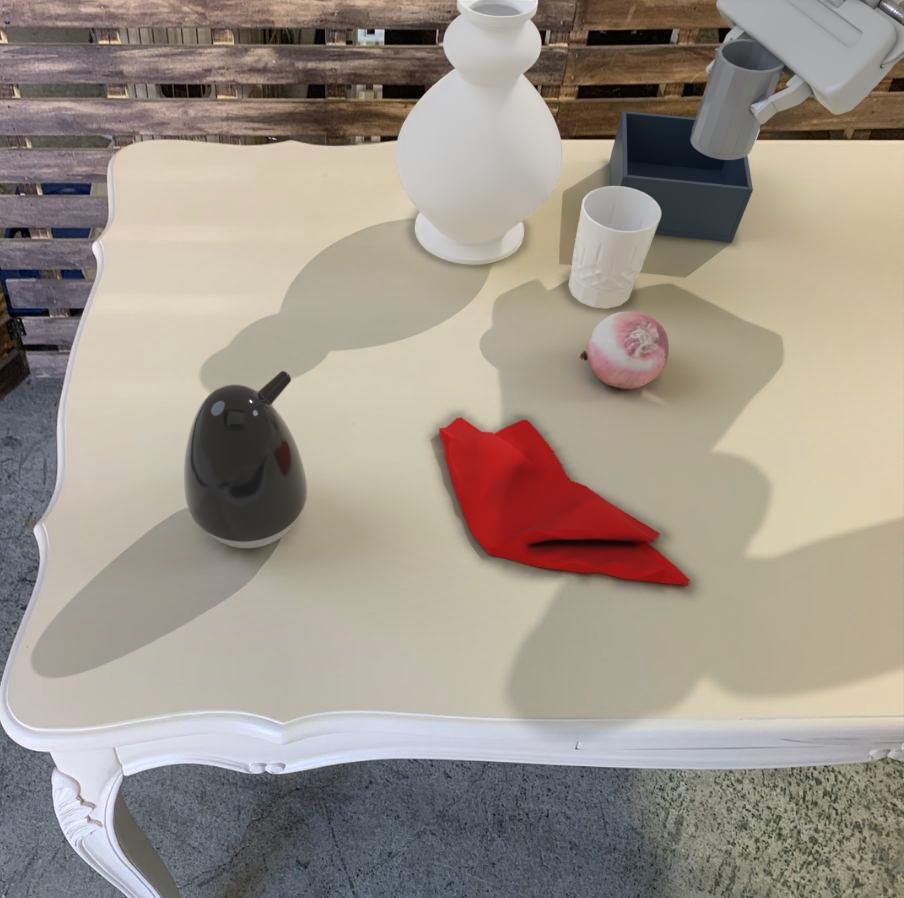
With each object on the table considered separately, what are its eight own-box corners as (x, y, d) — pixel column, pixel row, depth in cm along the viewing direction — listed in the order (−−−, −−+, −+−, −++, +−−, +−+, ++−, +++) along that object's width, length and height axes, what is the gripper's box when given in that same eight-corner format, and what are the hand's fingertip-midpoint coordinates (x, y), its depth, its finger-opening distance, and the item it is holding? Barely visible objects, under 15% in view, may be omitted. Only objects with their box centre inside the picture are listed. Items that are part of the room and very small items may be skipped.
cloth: (390, 455, 83) (390, 439, 82) (501, 394, 88) (504, 377, 86) (586, 657, 71) (593, 643, 69) (704, 573, 76) (712, 558, 74)
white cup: (592, 257, 101) (613, 176, 93) (650, 290, 98) (677, 209, 90) (548, 288, 98) (566, 207, 90) (607, 323, 95) (630, 242, 87)
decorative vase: (534, 185, 109) (575, -43, 89) (557, 279, 99) (611, 44, 79) (388, 187, 109) (396, -43, 89) (396, 281, 98) (408, 45, 78)
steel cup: (748, 128, 96) (781, 41, 88) (755, 162, 92) (790, 74, 85) (687, 123, 96) (715, 36, 89) (692, 157, 92) (721, 69, 85)
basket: (723, 174, 111) (742, 122, 106) (731, 243, 103) (753, 189, 98) (608, 163, 112) (622, 110, 107) (608, 230, 104) (622, 176, 99)
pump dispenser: (334, 522, 79) (331, 398, 66) (239, 587, 75) (217, 468, 62) (263, 456, 83) (247, 328, 71) (169, 514, 79) (136, 389, 67)
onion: (595, 407, 87) (612, 351, 82) (567, 354, 92) (581, 297, 86) (671, 394, 89) (693, 338, 83) (639, 342, 93) (659, 286, 87)
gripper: (940, 50, 81) (803, 170, 87) (804, -45, 92) (691, 66, 98) (925, 5, 76) (782, 134, 82) (784, -90, 87) (667, 30, 93)
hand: (731, 96), depth 90 cm, fingers closed on steel cup, 6 cm apart
